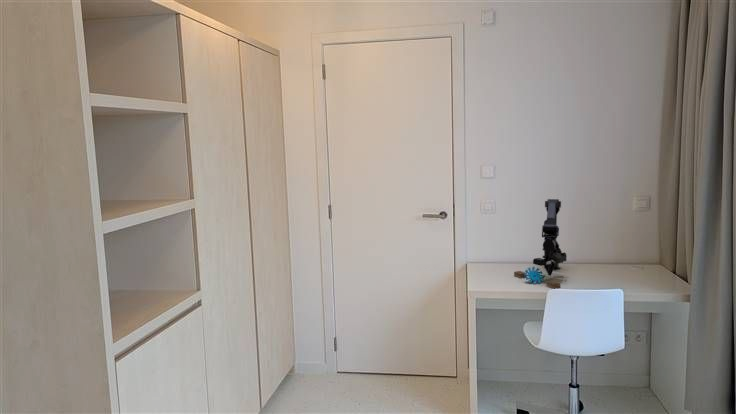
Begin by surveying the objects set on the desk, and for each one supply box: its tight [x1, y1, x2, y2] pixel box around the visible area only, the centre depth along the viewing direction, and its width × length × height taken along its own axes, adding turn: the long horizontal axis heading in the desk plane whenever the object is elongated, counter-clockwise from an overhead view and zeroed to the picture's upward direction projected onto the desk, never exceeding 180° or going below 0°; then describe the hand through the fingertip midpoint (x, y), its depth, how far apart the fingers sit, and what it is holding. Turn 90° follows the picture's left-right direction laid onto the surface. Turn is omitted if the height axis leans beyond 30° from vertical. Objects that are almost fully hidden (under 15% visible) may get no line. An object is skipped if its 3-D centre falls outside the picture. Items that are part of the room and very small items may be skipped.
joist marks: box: [513, 270, 561, 289], centre depth 286 cm, size 4×29×2 cm, turn 27°
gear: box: [524, 266, 547, 285], centre depth 286 cm, size 11×6×10 cm
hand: (549, 275), depth 290 cm, fingers closed
